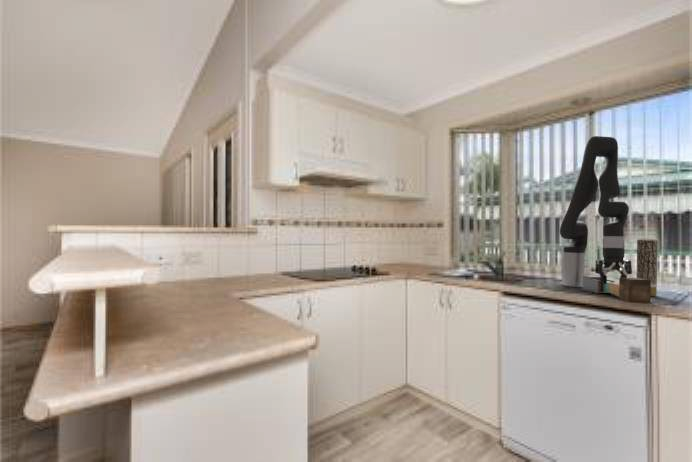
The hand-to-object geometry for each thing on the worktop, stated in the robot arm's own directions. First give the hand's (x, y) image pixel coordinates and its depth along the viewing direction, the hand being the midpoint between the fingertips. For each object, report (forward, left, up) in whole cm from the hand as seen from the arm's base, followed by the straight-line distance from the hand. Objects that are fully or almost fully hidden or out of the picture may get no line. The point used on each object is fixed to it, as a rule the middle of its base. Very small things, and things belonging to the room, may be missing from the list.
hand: (613, 283), depth 148 cm
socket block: (+11, -1, -5) cm, 13 cm away
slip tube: (-3, -1, -4) cm, 5 cm away
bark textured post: (-3, +16, -5) cm, 18 cm away
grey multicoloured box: (-9, -1, -5) cm, 10 cm away
